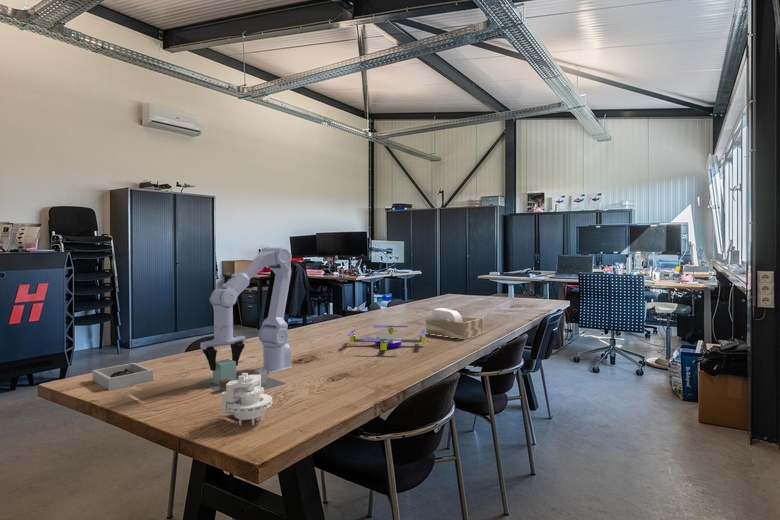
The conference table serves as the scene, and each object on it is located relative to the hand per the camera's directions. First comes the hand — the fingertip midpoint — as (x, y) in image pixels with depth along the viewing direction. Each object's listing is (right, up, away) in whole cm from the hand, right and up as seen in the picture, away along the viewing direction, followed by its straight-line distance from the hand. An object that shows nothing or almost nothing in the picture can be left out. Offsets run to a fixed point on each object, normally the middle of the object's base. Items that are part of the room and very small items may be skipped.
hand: (224, 367), depth 144 cm
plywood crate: (+85, -2, +78) cm, 116 cm away
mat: (+6, -5, -1) cm, 8 cm away
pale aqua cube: (0, -5, 0) cm, 5 cm away
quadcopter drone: (+52, -4, +54) cm, 75 cm away
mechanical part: (+18, -6, -31) cm, 36 cm away
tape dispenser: (+84, -3, +78) cm, 115 cm away
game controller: (-37, -6, +5) cm, 37 cm away
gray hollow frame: (-36, -6, +5) cm, 36 cm away
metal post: (+13, -5, -5) cm, 15 cm away
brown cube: (+3, -5, -8) cm, 10 cm away
